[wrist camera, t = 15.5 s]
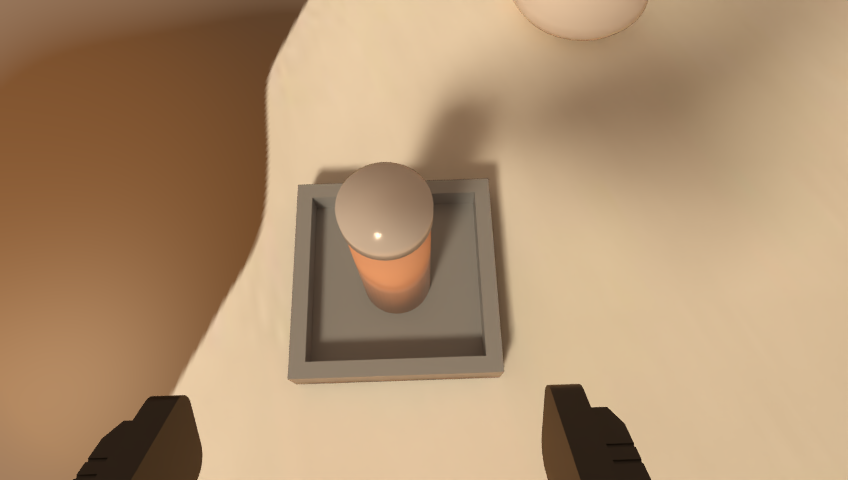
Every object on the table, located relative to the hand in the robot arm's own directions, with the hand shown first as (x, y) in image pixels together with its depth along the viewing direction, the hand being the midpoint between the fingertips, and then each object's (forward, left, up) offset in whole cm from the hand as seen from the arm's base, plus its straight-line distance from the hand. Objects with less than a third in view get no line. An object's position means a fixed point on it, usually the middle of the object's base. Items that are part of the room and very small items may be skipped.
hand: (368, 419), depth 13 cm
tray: (+1, -10, -24) cm, 26 cm away
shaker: (0, -10, -23) cm, 25 cm away
